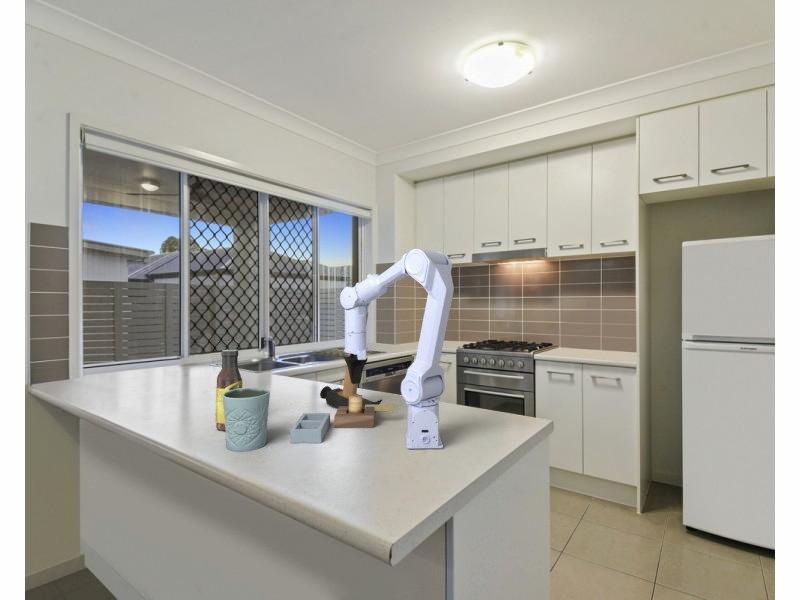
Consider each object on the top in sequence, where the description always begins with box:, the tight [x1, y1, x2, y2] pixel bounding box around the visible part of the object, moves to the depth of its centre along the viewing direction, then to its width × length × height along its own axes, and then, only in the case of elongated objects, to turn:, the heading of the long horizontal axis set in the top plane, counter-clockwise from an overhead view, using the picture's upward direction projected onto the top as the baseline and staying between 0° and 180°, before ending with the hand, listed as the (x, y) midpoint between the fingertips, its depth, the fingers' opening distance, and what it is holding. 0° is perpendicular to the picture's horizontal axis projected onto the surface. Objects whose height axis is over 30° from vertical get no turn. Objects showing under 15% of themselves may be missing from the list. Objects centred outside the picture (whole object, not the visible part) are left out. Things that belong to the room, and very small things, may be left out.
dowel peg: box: [349, 394, 363, 413], centre depth 111 cm, size 4×4×7 cm
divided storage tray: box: [289, 412, 331, 444], centre depth 102 cm, size 14×7×3 cm, turn 1°
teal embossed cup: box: [222, 387, 271, 453], centre depth 94 cm, size 10×10×12 cm
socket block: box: [333, 404, 376, 429], centre depth 111 cm, size 10×10×4 cm
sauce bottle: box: [215, 349, 243, 431], centre depth 107 cm, size 7×6×20 cm
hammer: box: [319, 312, 383, 409], centre depth 124 cm, size 20×5×30 cm, turn 56°
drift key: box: [365, 402, 393, 414], centre depth 111 cm, size 3×7×2 cm, turn 91°
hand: (355, 383), depth 111 cm, fingers closed
